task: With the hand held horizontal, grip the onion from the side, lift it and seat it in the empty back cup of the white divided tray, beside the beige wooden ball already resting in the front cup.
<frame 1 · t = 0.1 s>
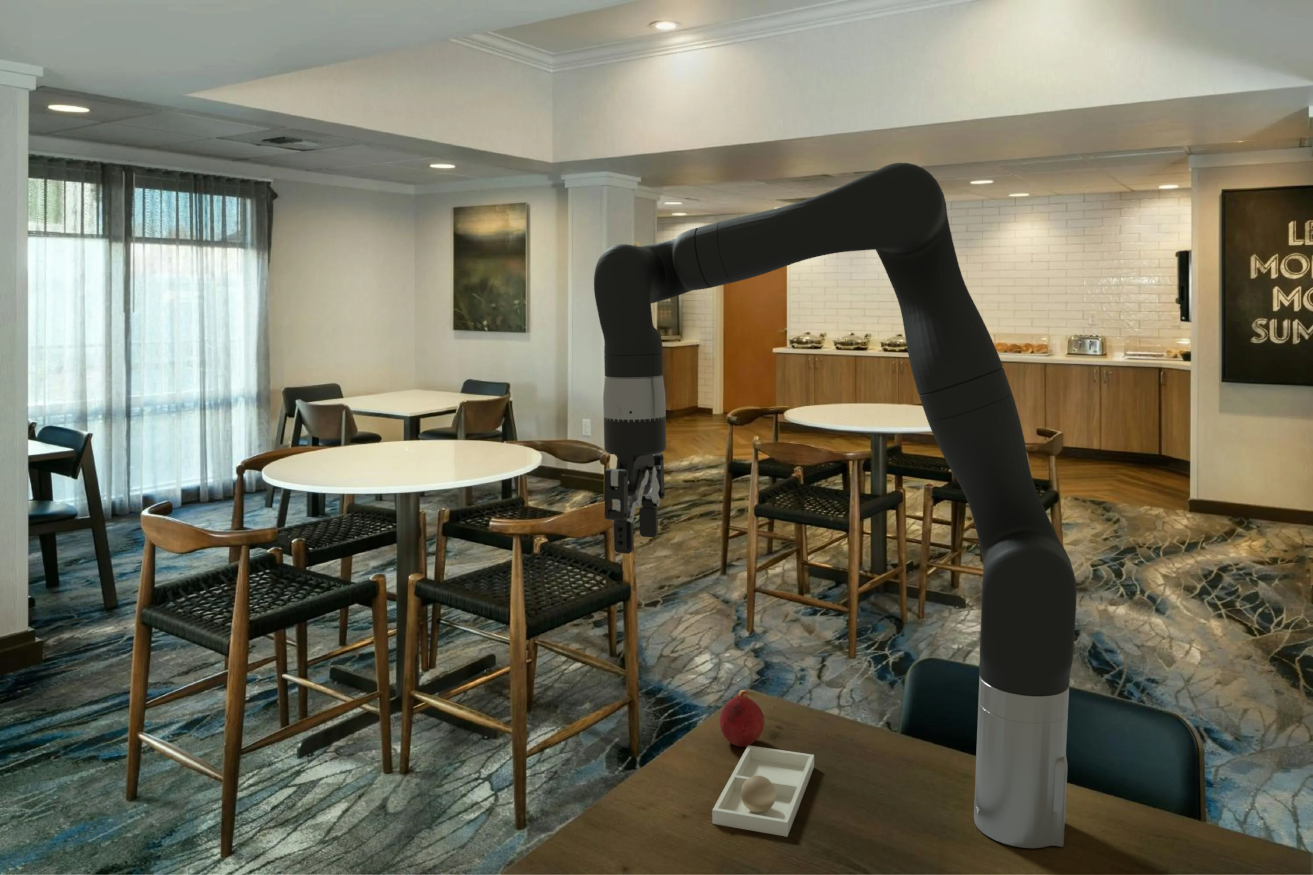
hand: (637, 544, 117), 29 cm above the table, tool pointing down, fingers open, 8 cm apart
beige wooden ball: (758, 810, 109), point 1 cm above the table, touching white divided tray
onion: (741, 749, 126), on the table
white divided tray: (766, 799, 113), on the table
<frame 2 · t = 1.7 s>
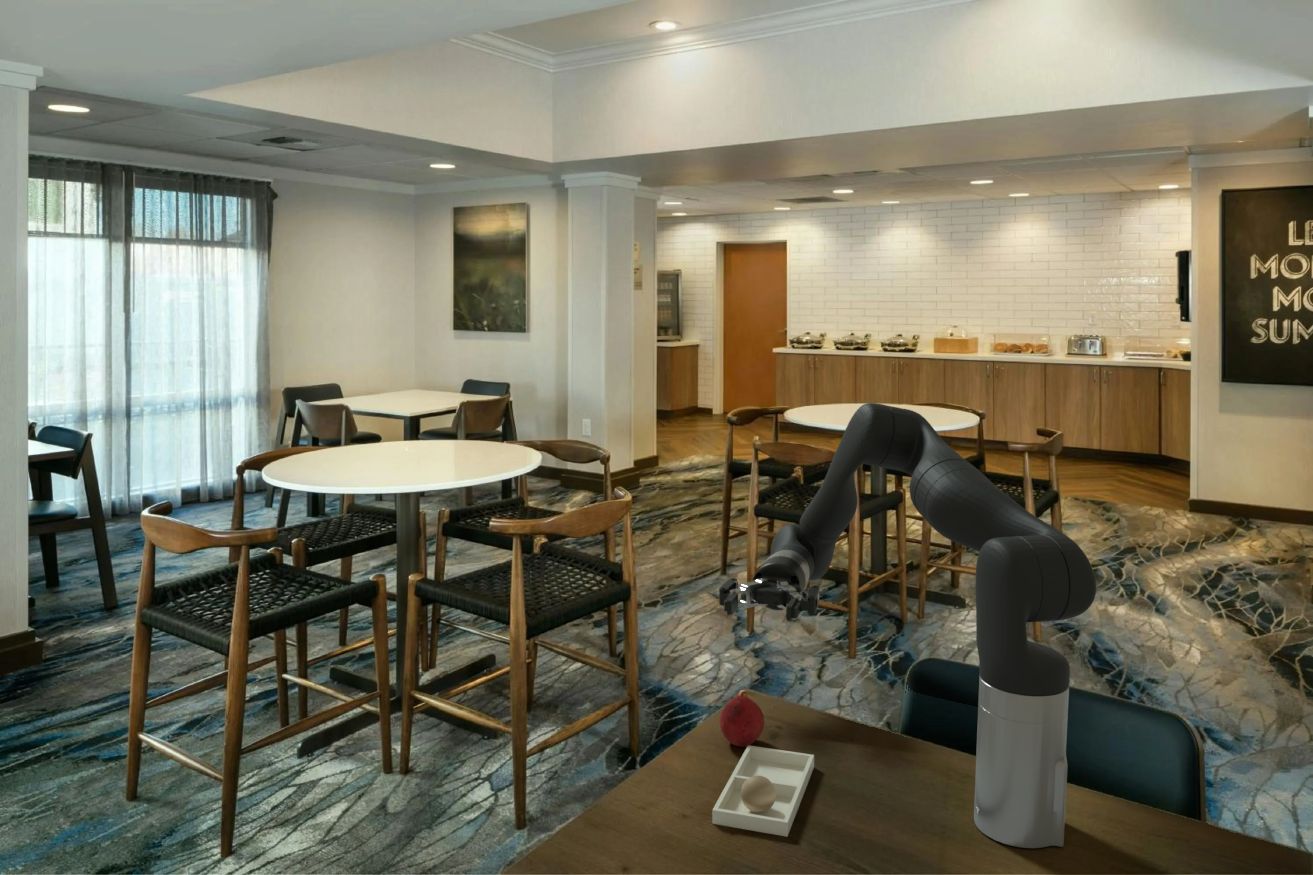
hand: (758, 611, 134), 16 cm above the table, tool horizontal, fingers open, 8 cm apart
nothing on the table moved.
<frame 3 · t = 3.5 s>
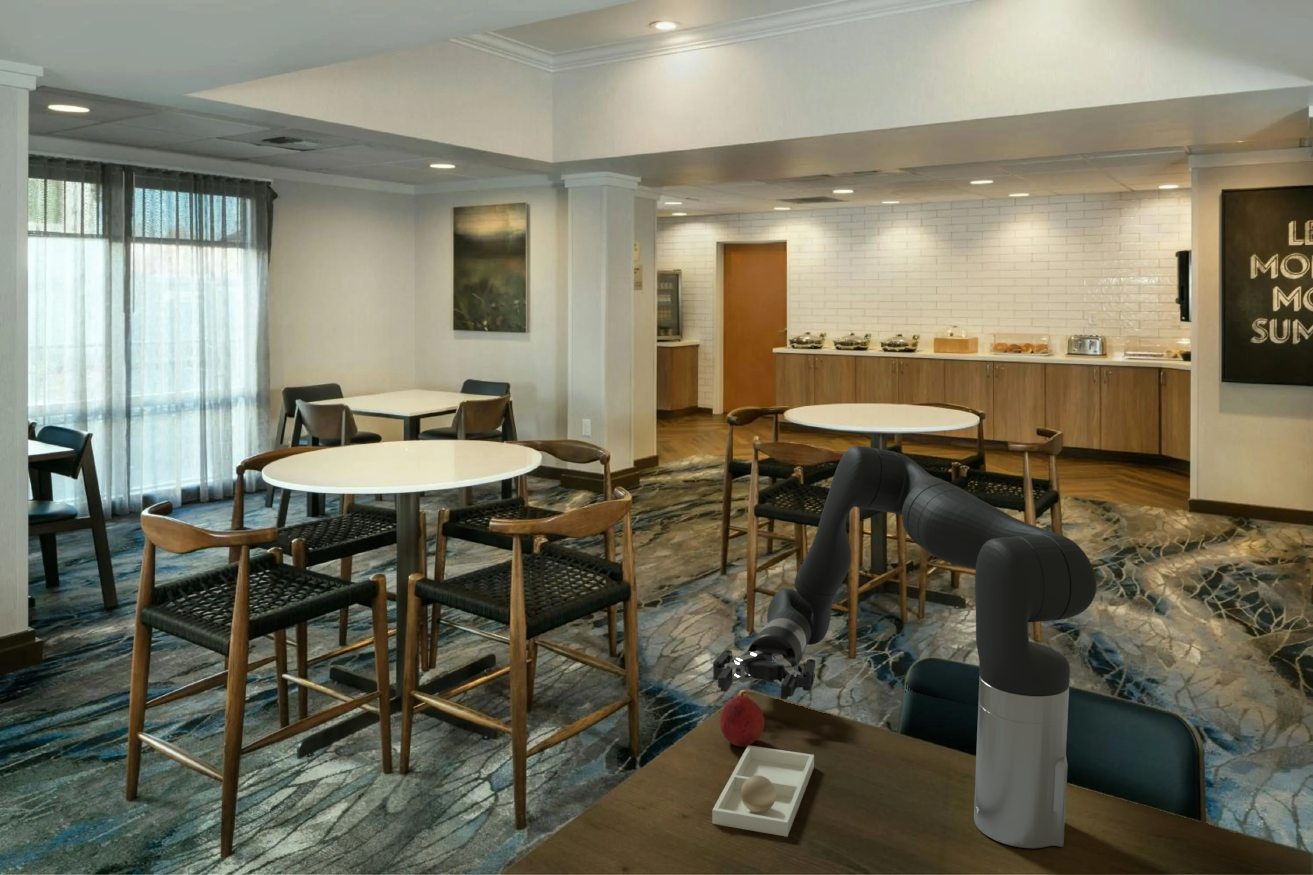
hand: (753, 688, 131), 6 cm above the table, tool horizontal, fingers open, 8 cm apart
nothing on the table moved.
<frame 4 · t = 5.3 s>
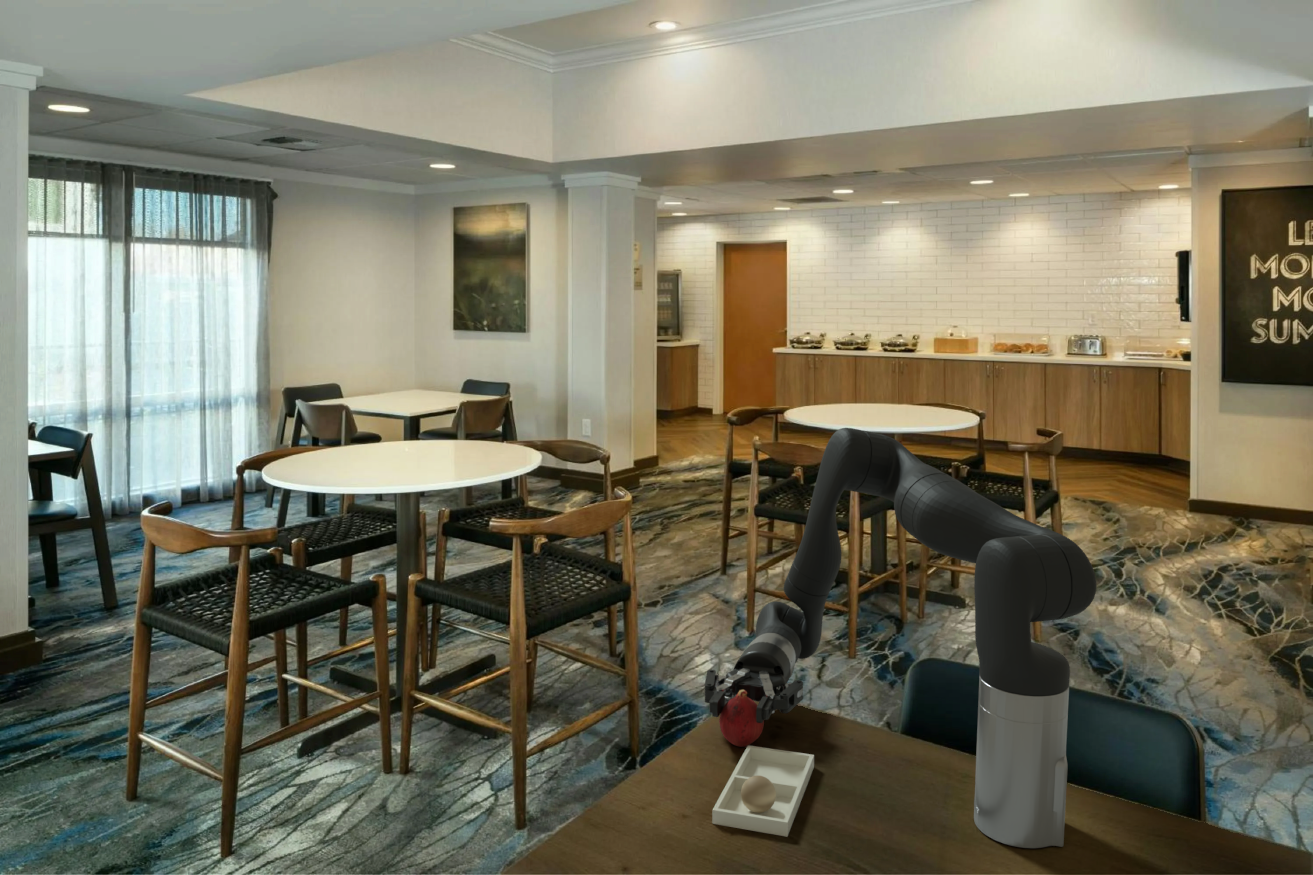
hand: (737, 712, 123), 6 cm above the table, tool horizontal, fingers closed on onion, 5 cm apart
onion: (741, 749, 126), on the table, touching gripper
everything else where it was.
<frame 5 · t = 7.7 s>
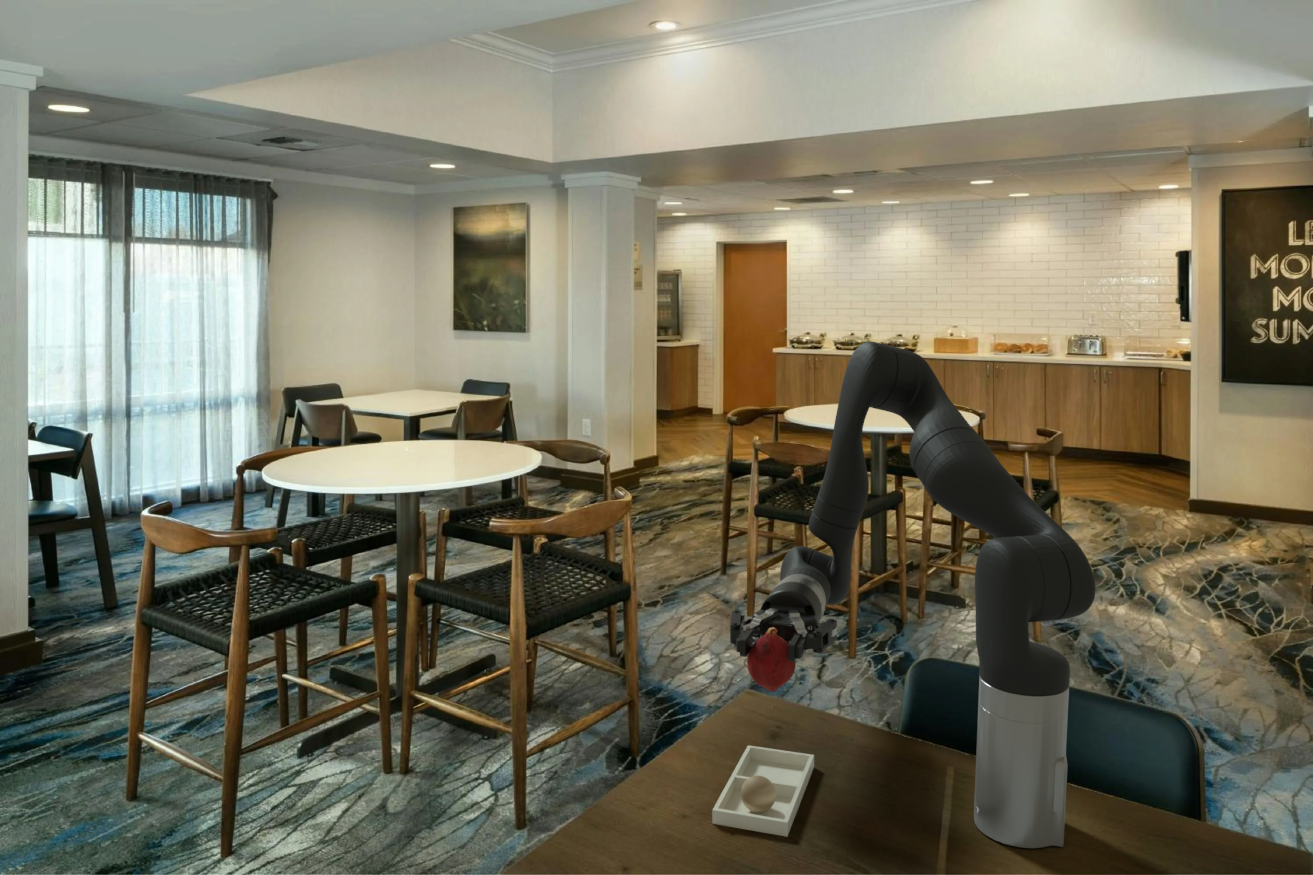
hand: (767, 651, 113), 18 cm above the table, tool horizontal, fingers closed on onion, 5 cm apart
onion: (771, 692, 116), point 11 cm above the table, touching gripper
everything else where it was.
when the fingers open (8 cm above the table, at t = 10.1 s): onion drops 1 cm, resting on white divided tray.
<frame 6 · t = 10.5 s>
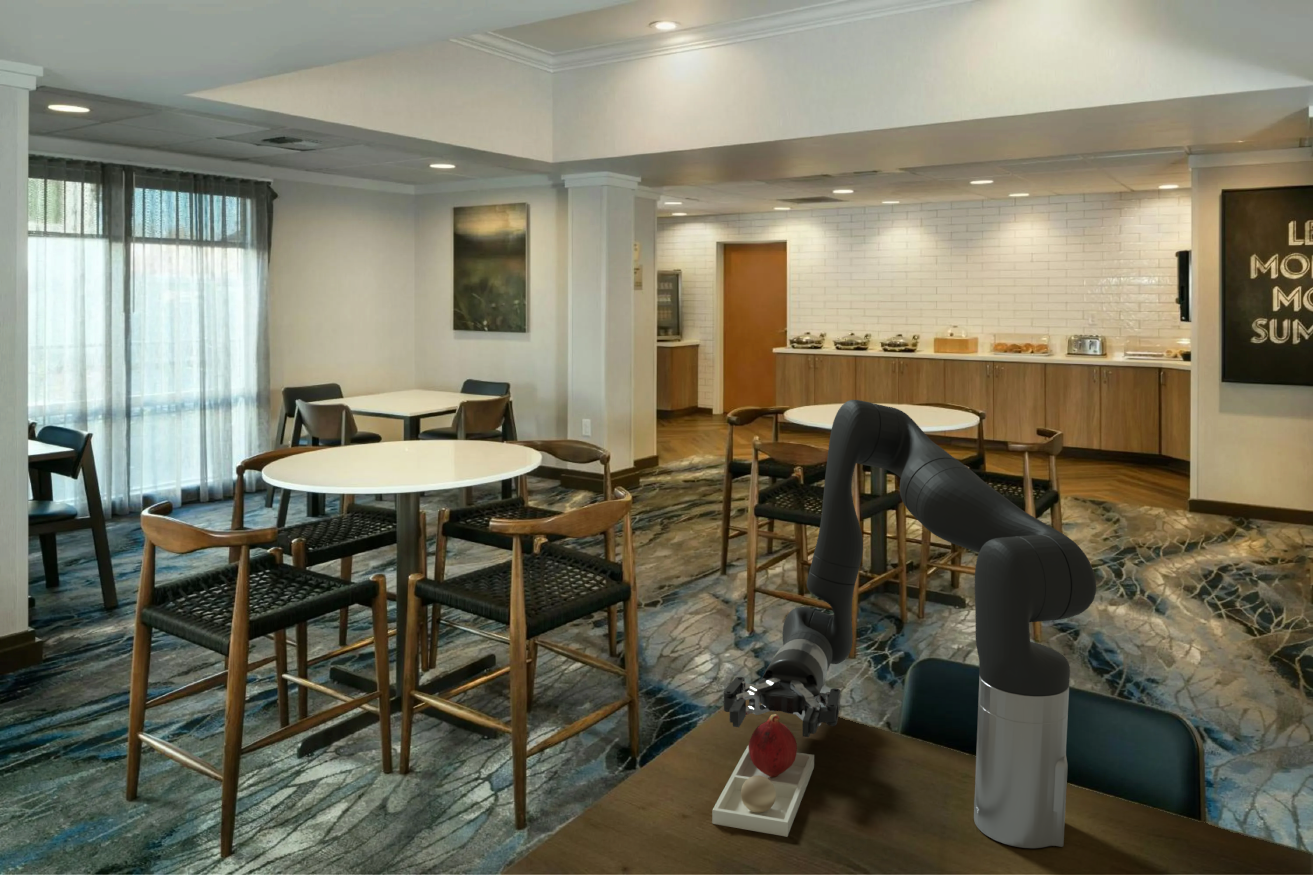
hand: (770, 724, 114), 8 cm above the table, tool horizontal, fingers open, 8 cm apart
onion: (772, 778, 117), point 1 cm above the table, touching white divided tray
everything else where it was.
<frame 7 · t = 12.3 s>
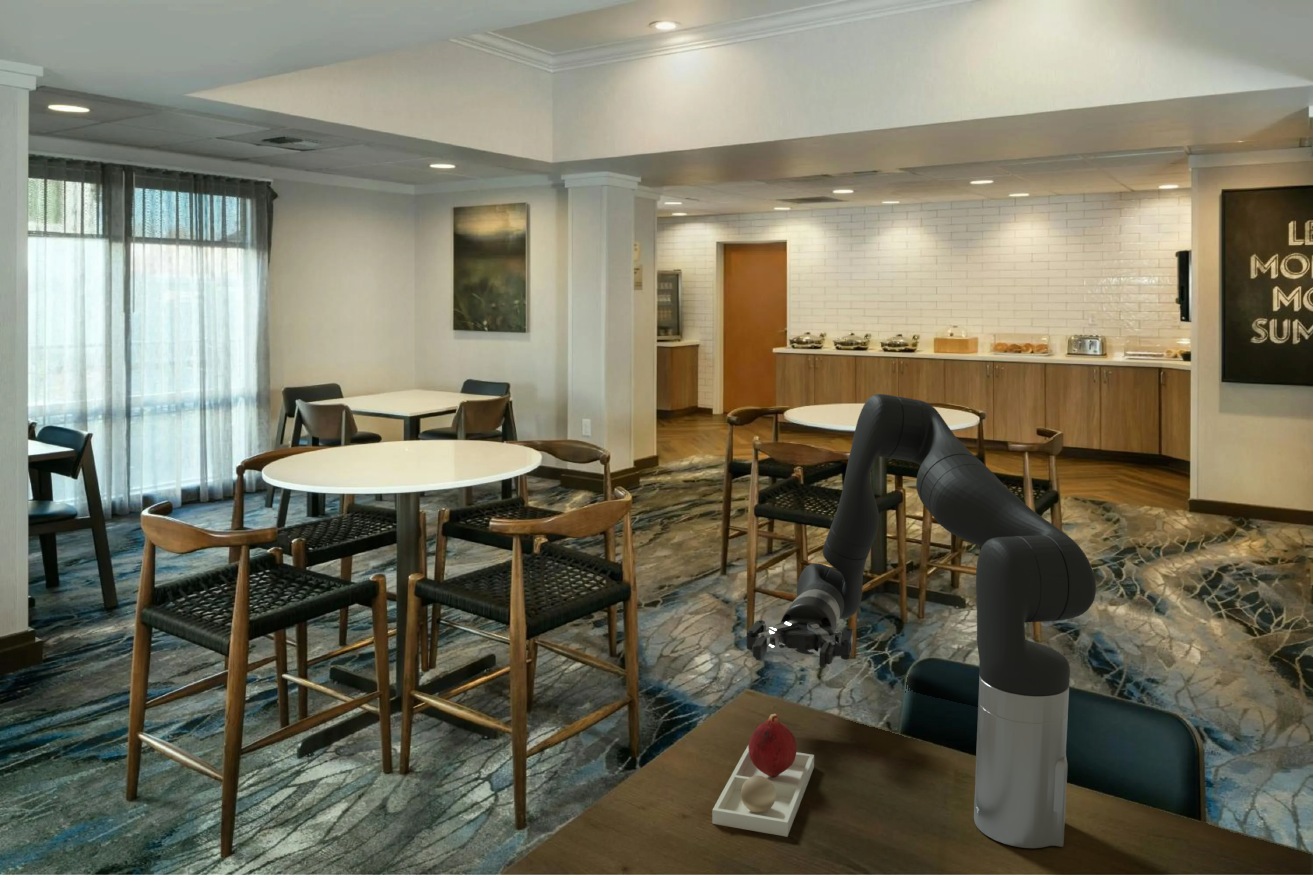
hand: (789, 656, 126), 12 cm above the table, tool horizontal, fingers open, 8 cm apart
nothing on the table moved.
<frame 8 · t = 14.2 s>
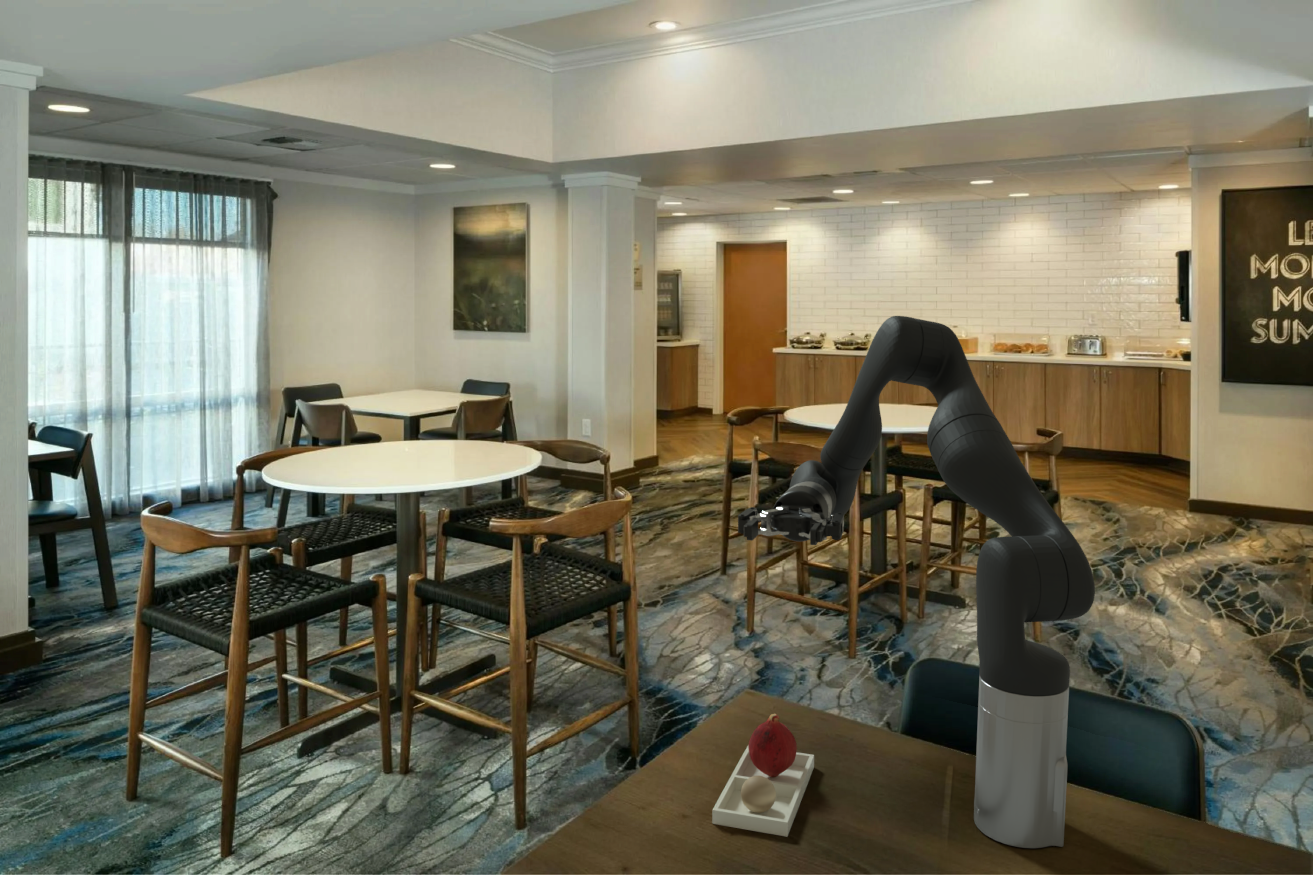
hand: (780, 535, 126), 28 cm above the table, tool horizontal, fingers open, 8 cm apart
nothing on the table moved.
at the end: onion 0.3 cm from the target spot on the white divided tray, point 0.6 cm above the white divided tray's base; the gripper is holding nothing; beige wooden ball moved 0.1 cm from its start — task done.
